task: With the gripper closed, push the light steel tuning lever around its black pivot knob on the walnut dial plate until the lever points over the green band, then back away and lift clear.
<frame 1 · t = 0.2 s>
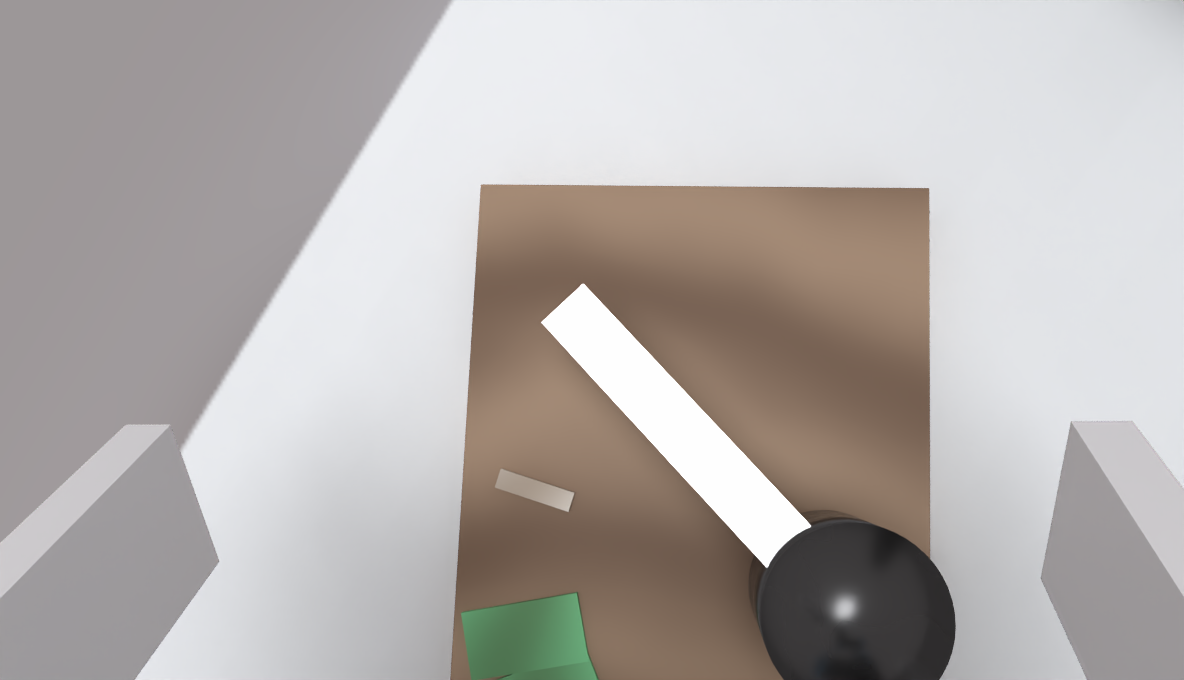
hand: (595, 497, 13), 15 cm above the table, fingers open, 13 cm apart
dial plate: (686, 570, 28), on the table
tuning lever: (728, 482, 24), point 4 cm above the table, hinge at 45.0°
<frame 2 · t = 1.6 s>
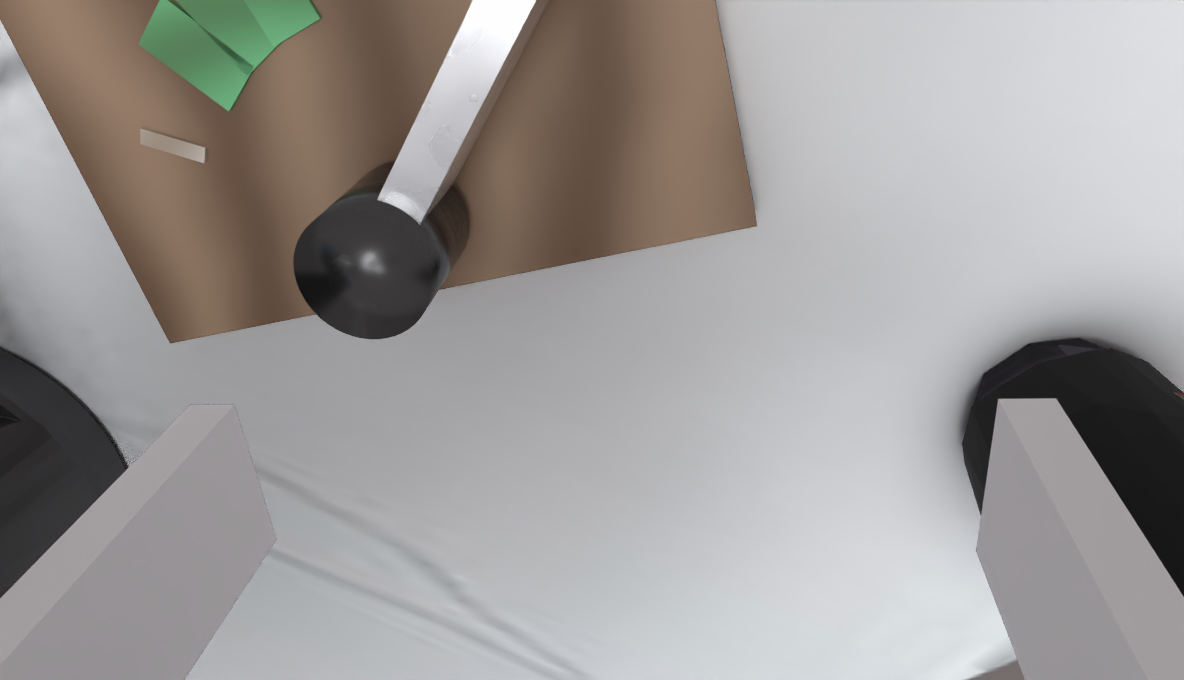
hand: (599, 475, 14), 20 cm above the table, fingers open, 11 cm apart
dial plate: (388, 99, 32), on the table
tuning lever: (439, 143, 28), point 5 cm above the table, hinge at 45.0°
portable speaker: (1057, 417, 35), on the table
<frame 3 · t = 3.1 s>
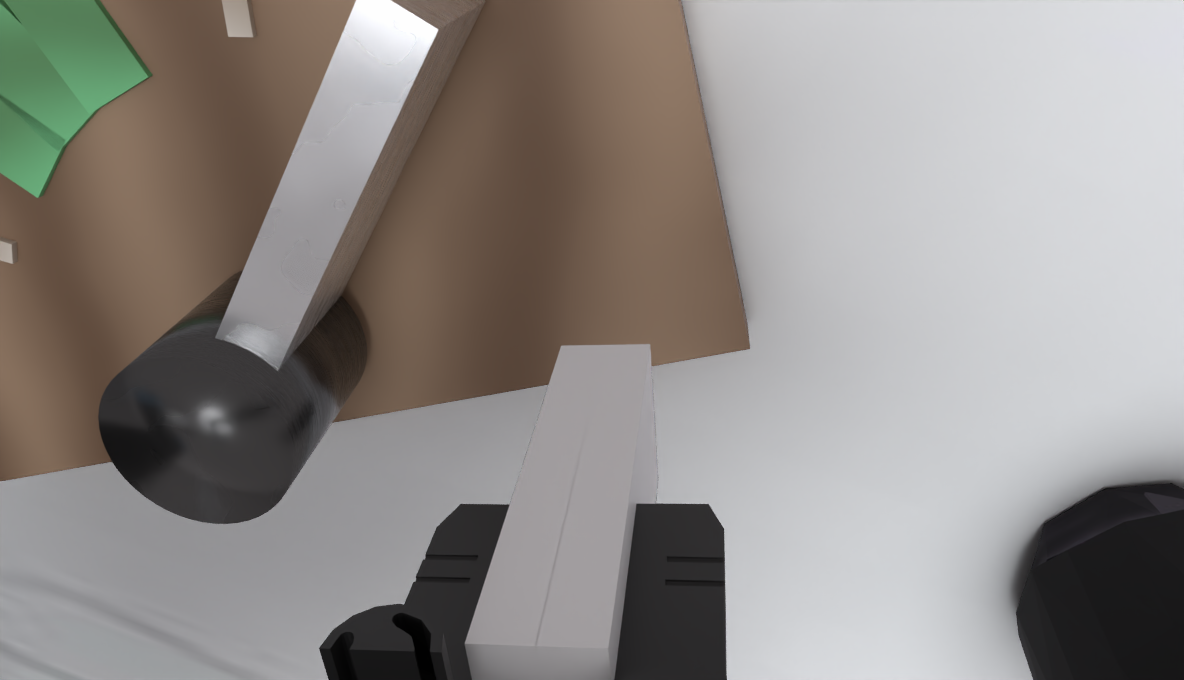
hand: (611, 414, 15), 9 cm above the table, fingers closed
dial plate: (258, 177, 24), on the table
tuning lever: (306, 254, 20), point 5 cm above the table, hinge at 45.0°
portable speaker: (1135, 574, 27), on the table
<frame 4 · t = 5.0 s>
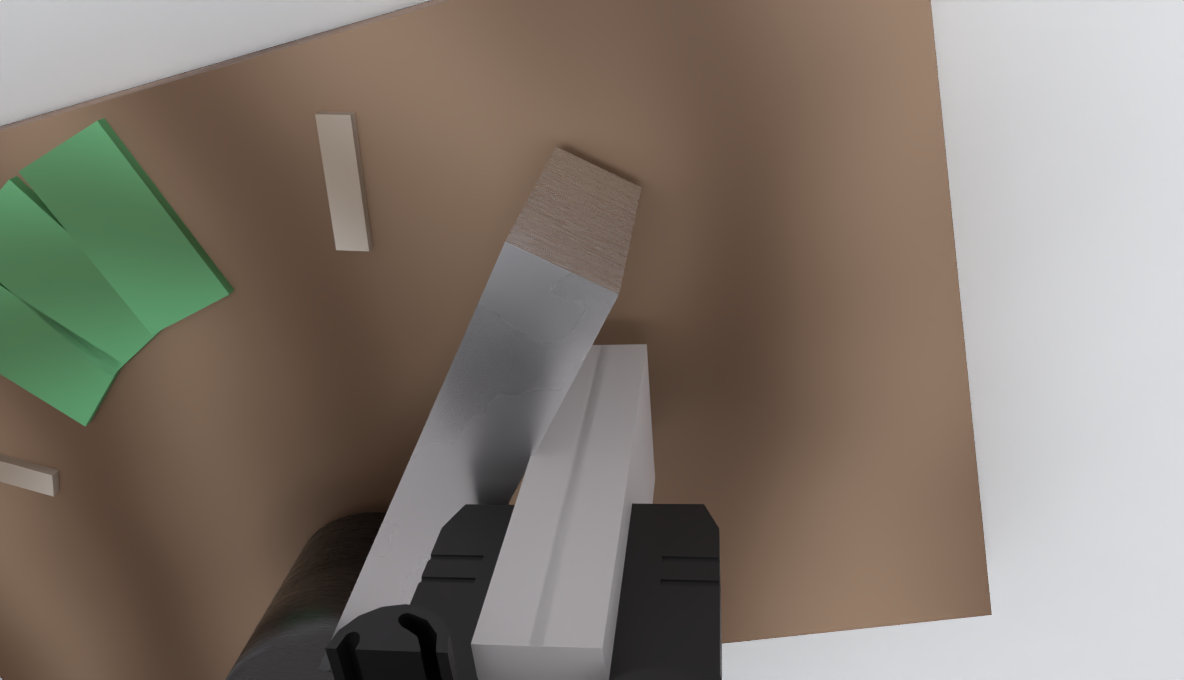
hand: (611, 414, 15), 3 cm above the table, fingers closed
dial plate: (358, 388, 19), on the table
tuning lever: (426, 540, 15), point 5 cm above the table, hinge at 50.2°, touching gripper
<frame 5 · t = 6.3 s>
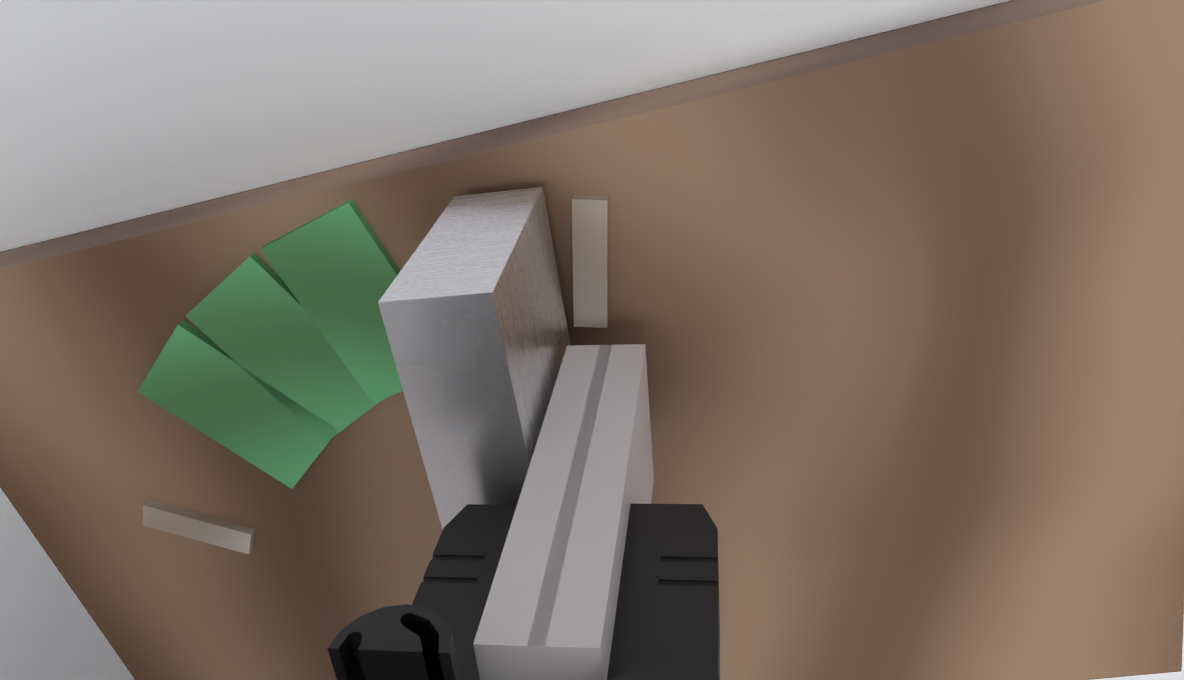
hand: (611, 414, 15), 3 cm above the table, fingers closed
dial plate: (552, 448, 19), on the table
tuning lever: (540, 589, 15), point 4 cm above the table, hinge at 83.1°, touching gripper
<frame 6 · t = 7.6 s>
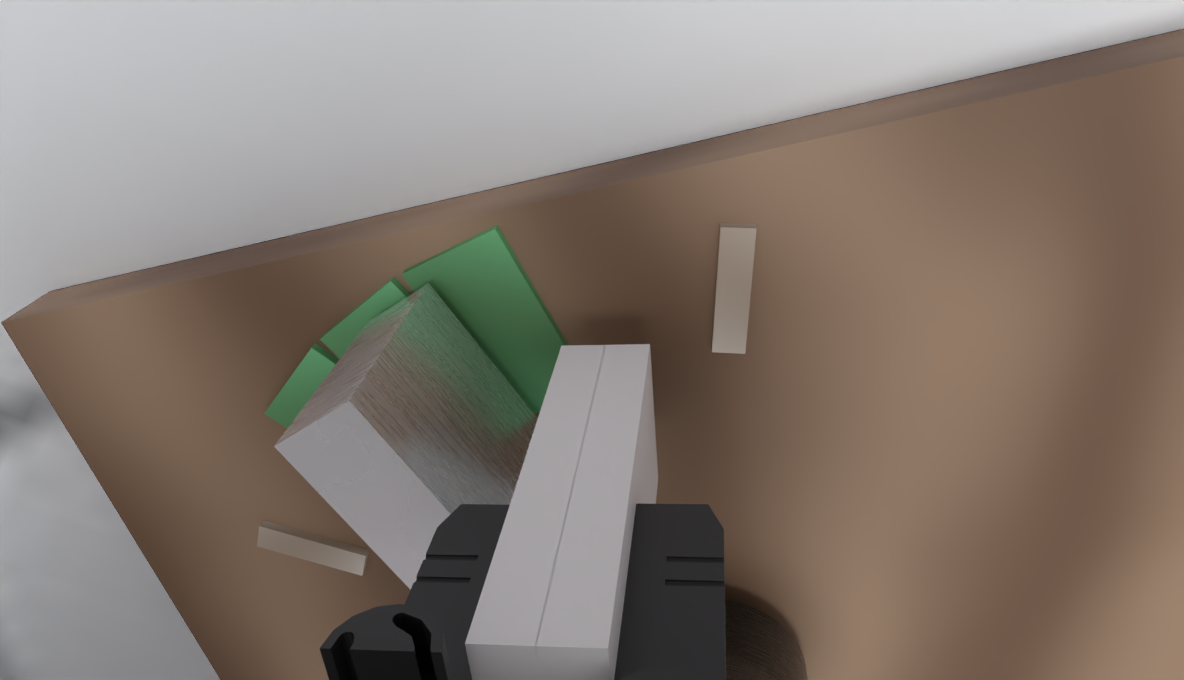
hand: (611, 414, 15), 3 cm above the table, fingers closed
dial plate: (666, 471, 20), on the table
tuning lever: (581, 635, 16), point 5 cm above the table, hinge at 109.8°
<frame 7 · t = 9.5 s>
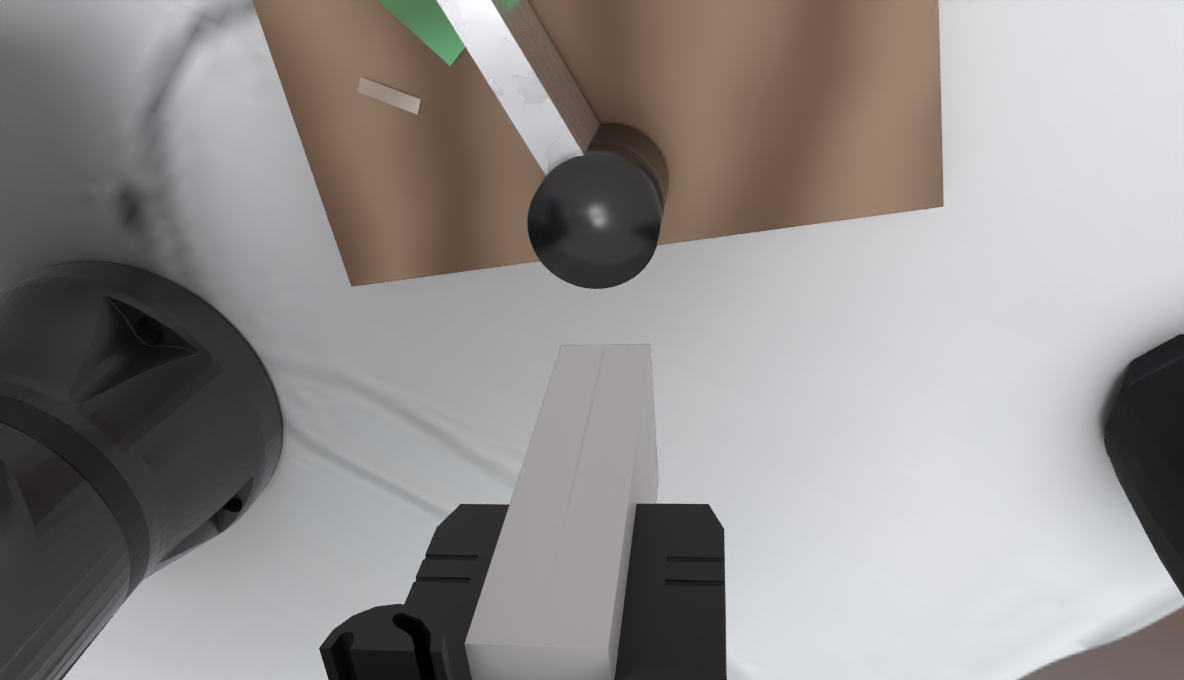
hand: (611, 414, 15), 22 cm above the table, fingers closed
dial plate: (597, 64, 34), on the table
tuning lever: (540, 100, 30), point 5 cm above the table, hinge at 109.8°
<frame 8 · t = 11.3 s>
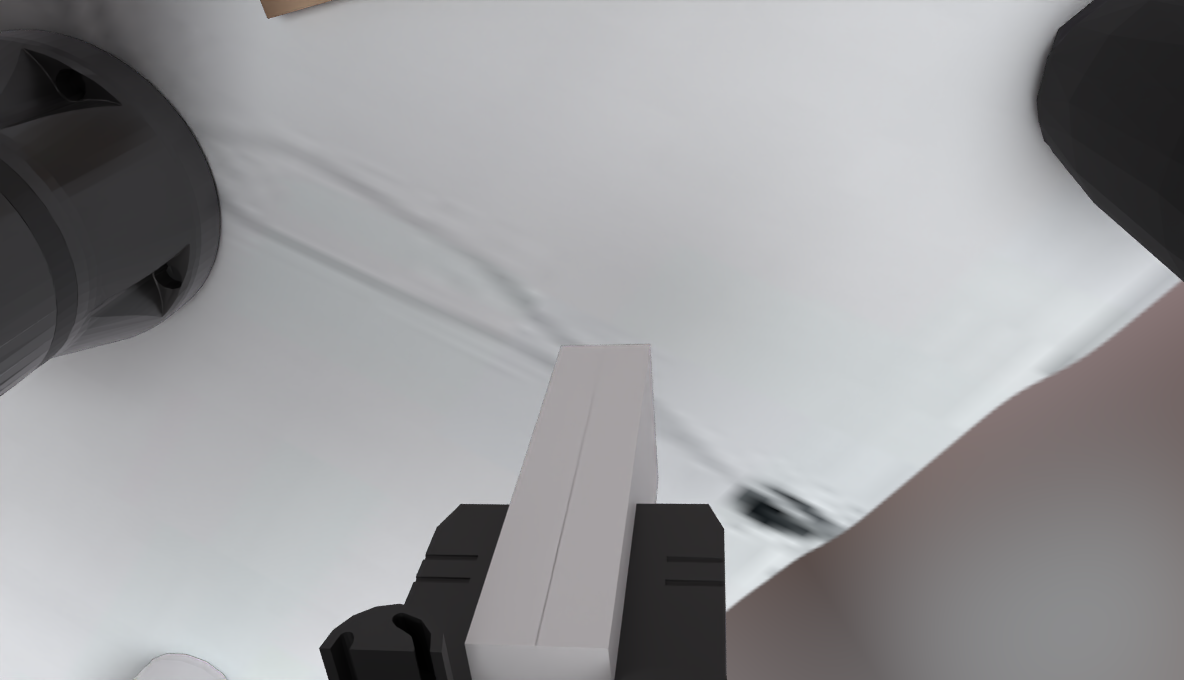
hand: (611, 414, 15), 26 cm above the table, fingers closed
portable speaker: (1127, 78, 36), on the table
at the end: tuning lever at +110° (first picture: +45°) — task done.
